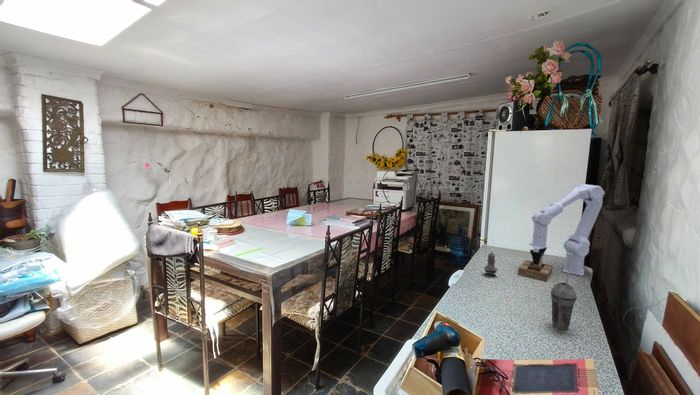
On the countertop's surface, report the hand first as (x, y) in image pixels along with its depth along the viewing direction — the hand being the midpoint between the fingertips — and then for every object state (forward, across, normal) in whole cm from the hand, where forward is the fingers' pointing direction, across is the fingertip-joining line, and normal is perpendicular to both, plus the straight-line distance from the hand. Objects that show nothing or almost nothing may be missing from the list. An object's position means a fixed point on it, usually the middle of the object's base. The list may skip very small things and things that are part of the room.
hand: (537, 262), depth 152 cm
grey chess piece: (+5, +21, -16) cm, 27 cm away
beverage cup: (+5, +52, +16) cm, 54 cm away
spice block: (+5, +4, 0) cm, 6 cm away
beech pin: (+3, 0, 0) cm, 3 cm away
